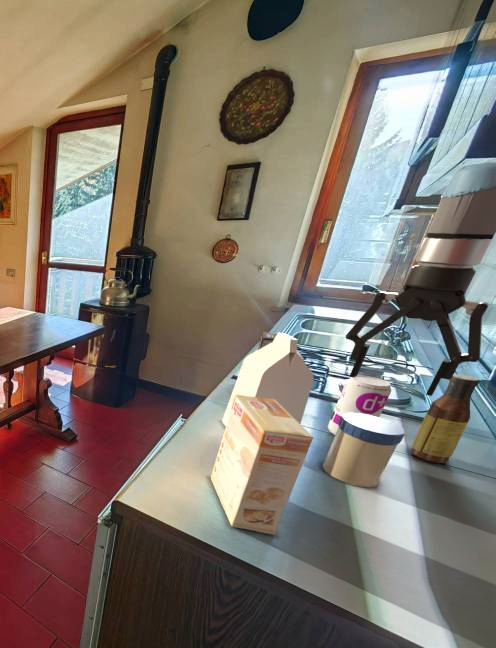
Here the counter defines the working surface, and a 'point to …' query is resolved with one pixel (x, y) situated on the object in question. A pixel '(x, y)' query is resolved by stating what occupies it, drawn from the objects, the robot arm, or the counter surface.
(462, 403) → the sauce bottle
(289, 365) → the milk
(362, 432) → the lid
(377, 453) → the jar
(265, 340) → the coffee box
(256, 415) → the coffeecake box
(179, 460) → the counter surface
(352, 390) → the supplement can
